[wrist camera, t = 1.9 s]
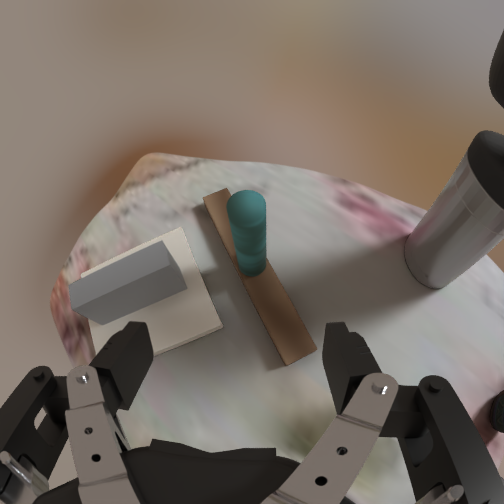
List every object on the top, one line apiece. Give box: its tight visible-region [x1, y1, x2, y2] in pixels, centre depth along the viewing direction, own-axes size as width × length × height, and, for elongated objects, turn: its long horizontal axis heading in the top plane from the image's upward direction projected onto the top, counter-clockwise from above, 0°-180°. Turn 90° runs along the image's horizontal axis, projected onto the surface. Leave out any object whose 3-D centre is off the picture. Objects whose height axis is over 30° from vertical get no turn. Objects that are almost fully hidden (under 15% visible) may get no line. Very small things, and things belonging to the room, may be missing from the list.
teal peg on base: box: [203, 188, 317, 366], centre depth 28 cm, size 4×24×13 cm, turn 25°
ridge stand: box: [69, 227, 223, 356], centre depth 28 cm, size 16×14×8 cm
